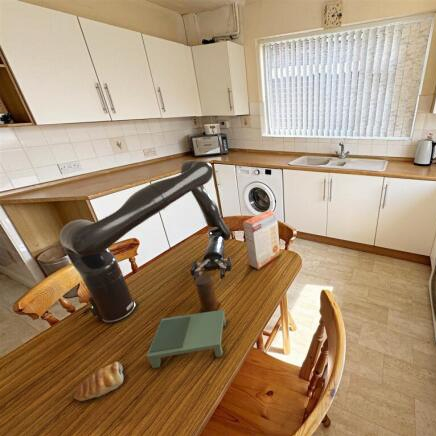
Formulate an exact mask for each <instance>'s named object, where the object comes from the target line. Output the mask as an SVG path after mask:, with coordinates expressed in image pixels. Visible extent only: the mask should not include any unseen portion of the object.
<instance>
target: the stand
mask: <svg viewBox="0 0 436 436" xmlns="http://www.w3.org/2000/svg"><path fill="white" fill-rule="evenodd" d="M225 314H226V313H225V309H220V310H219V309H218V310H215V311H211V312H205V313H204V312H197V313H190V314H184V315H178V316H172V317H164V318H161V320H160V322H159V325H158V327H157V329H156V331H155V332H156V333H155V334H154V336H153V339H152V342H151V344H150V347H149V348H148V351H147V354H146V357H145V358H146V359H147V360H149V363H150V365H151V367H152V369H156V368H160V366H161V363H162V359H161V358H164V357H165V358H166V357H172V356H176V355H183V354H188V353H195V352H199V351H200V352H201V351H207V350H212V349H213V351H214V355H215V358H219V357H223V353H224V352H223V347H222V338H223V330H224V327H226V323H227V321H226V316H225Z"/></svg>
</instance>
